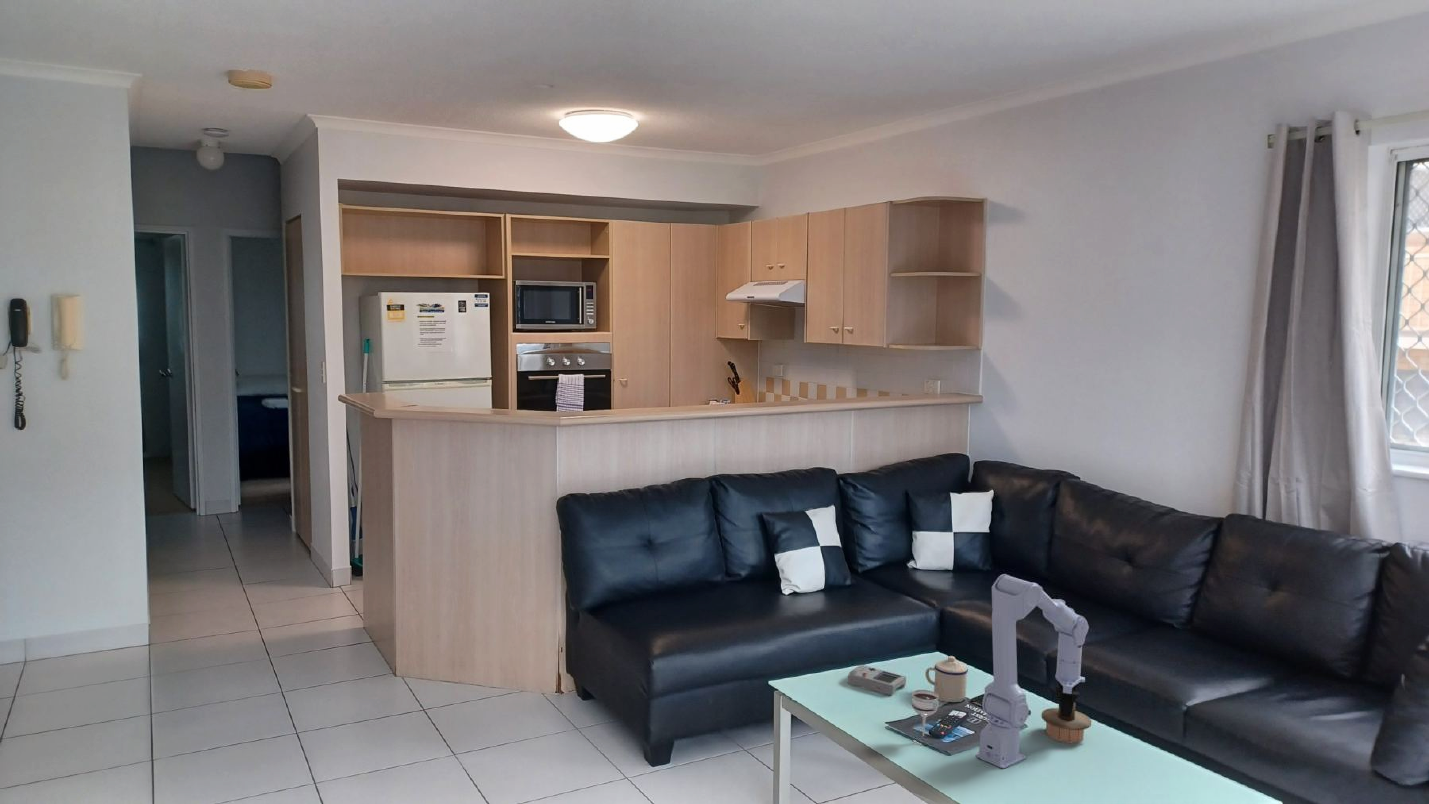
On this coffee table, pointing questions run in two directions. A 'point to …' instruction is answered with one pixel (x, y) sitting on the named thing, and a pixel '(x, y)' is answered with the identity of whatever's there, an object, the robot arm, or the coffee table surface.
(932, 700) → the wineglass
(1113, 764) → the coffee table surface
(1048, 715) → the walnut lid
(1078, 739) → the terracotta bowl
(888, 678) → the handheld gaming device
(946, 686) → the teacup with lid
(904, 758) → the coffee table surface
